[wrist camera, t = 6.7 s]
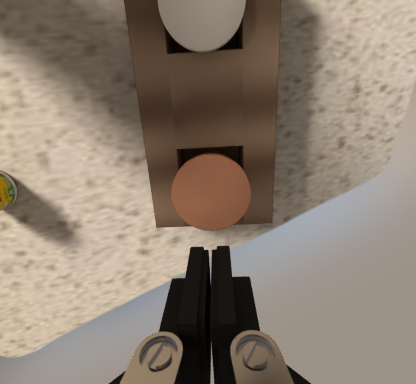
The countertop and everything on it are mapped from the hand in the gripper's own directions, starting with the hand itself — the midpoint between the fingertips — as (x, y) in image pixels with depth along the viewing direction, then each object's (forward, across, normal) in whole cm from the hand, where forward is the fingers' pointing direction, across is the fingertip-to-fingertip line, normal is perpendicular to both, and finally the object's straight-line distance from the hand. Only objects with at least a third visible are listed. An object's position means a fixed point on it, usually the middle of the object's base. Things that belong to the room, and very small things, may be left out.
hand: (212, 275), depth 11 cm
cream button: (+19, 0, -14) cm, 23 cm away
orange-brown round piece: (+16, 0, 0) cm, 16 cm away
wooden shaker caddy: (+21, 0, -7) cm, 22 cm away
